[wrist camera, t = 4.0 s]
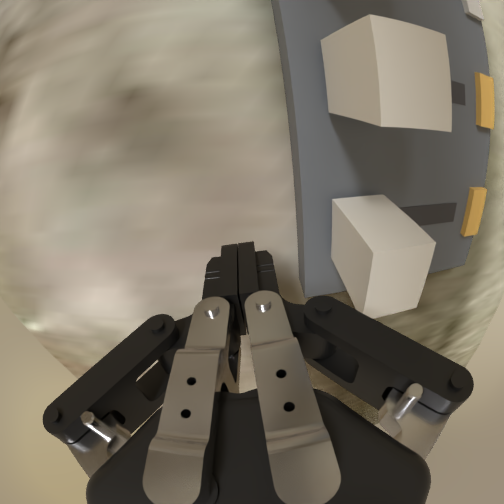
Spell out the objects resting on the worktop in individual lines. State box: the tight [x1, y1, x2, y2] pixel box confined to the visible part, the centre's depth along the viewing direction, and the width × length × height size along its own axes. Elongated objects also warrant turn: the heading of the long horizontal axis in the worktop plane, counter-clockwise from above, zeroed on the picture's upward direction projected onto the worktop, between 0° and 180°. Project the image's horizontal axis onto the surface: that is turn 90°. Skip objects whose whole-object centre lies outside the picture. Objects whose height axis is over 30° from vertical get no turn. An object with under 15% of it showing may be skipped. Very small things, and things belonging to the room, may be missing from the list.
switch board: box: [271, 0, 494, 298], centre depth 11 cm, size 26×14×2 cm, turn 7°
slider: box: [331, 194, 436, 319], centre depth 12 cm, size 4×3×5 cm
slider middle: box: [320, 14, 452, 132], centre depth 8 cm, size 4×3×5 cm
